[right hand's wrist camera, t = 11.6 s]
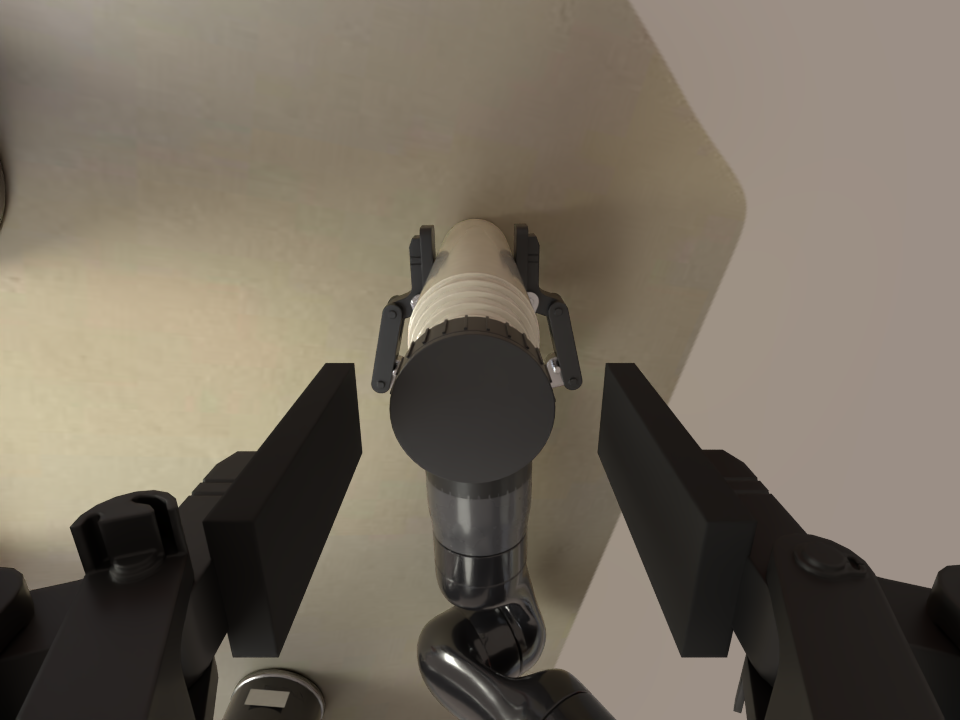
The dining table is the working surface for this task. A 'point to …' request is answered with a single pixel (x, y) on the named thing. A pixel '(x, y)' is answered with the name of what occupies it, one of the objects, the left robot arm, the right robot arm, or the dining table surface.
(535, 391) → the cap
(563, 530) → the dining table surface
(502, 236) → the bottle
